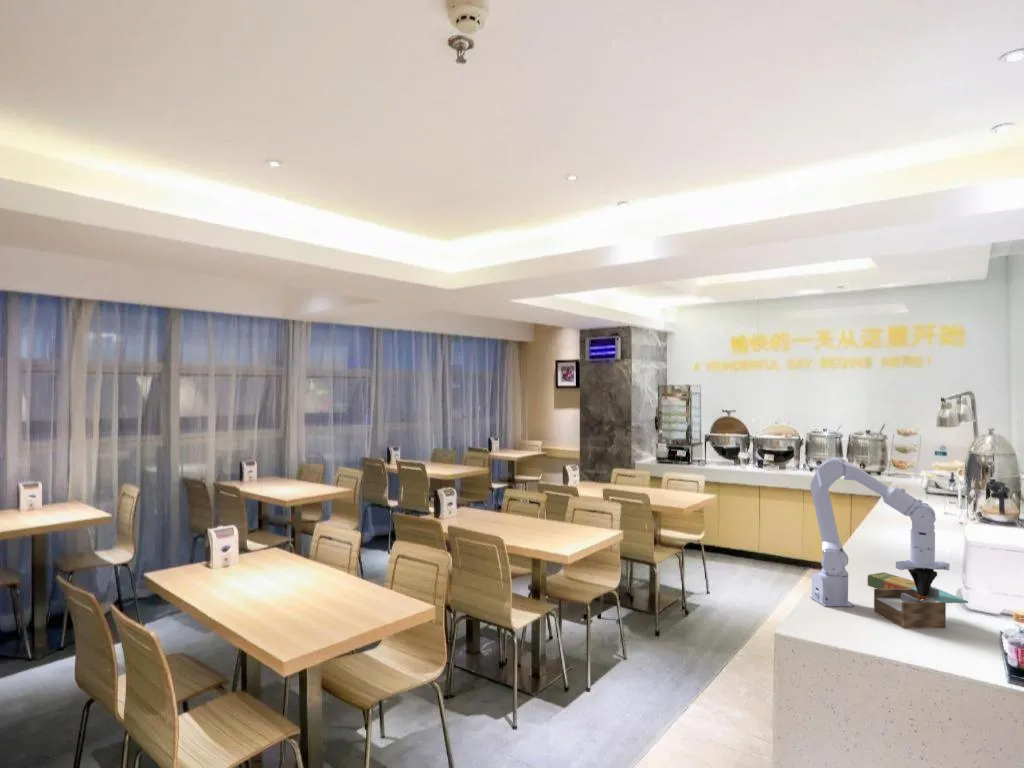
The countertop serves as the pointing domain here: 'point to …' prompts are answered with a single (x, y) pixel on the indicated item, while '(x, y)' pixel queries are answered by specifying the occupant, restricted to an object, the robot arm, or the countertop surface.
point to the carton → (892, 583)
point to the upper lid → (942, 596)
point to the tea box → (910, 610)
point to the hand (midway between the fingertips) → (922, 594)
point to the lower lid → (898, 601)
